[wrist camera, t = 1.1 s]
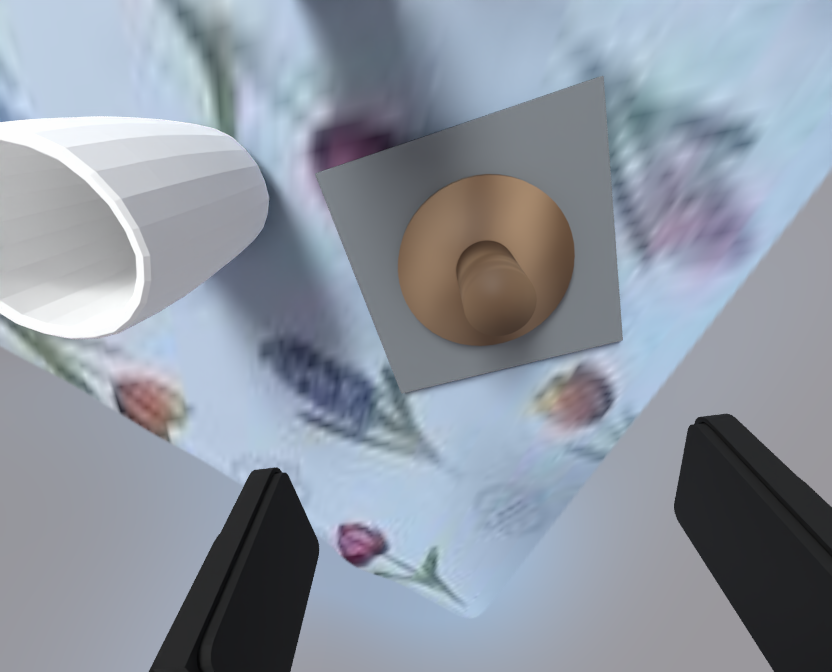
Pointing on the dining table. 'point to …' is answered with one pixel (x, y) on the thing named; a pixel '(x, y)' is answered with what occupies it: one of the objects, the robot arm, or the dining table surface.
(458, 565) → the dining table surface
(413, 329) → the mat
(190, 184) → the cup
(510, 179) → the lid
